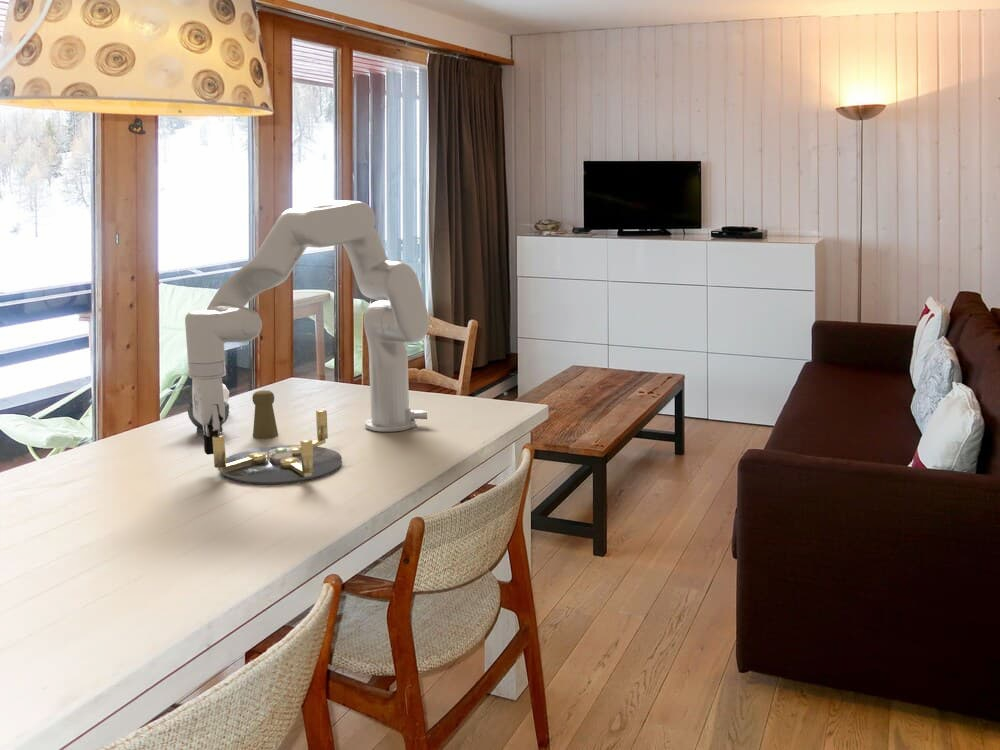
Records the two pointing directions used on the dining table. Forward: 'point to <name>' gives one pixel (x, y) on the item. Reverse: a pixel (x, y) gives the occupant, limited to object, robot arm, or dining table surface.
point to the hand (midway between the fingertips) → (213, 452)
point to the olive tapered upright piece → (264, 415)
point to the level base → (273, 472)
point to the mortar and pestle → (188, 395)
